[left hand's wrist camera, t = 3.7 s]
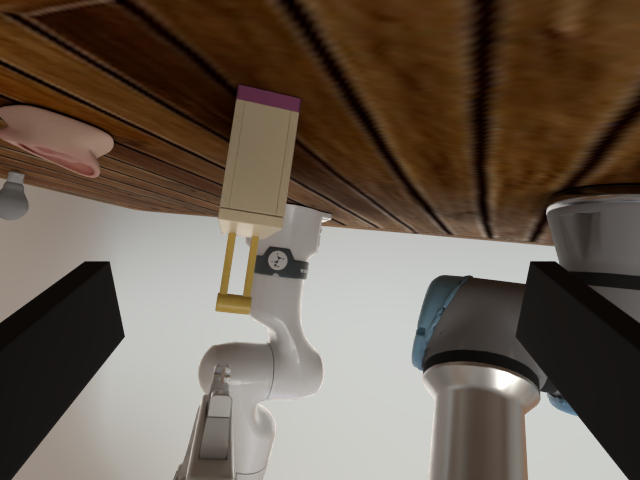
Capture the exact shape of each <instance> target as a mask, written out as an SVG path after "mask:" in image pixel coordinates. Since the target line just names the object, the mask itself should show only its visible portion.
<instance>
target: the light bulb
mask: <svg viewBox="0 0 640 480" xmlns="http://www.w3.org/2000/svg"><path fill="white" fill-rule="evenodd" d="M8 175H9V176H8V177H9V178H7V182H5V184H4V186H3V188H2V189H1V190H0V217H1V218H3V219H6V220H15V219H19V218H21V217H22V216H24V215H25V214H26V212H27V211H28V207H29V205H28V201H27V198H26V196H25V194H24V186H23V182H22V181H24V180H23V179H24V178H23V177H24V176H25V175H23V174H22V173H21V172H18V171H11V172H9V174H8Z"/></svg>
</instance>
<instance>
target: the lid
mask: <svg viewBox="0 0 640 480" xmlns="http://www.w3.org/2000/svg"><path fill="white" fill-rule="evenodd" d="M218 220H219V224H220V228H221V232H222V233H223V234H229V235H228V242H227V248H226V255H225V262H224V268H223V275H222V281H221V288H220V293H218V297H217V303H216V311H219V312H228V313H238V314H247V315H249V314H250V309H251V301H252V297H250V296H251V289H252V282H253V275H254V269H255V262H256V255H257V248H258V241H259V239H265V238H267V237H269V236H271V235H272V234H274V233H276V232H277V231H279V230H281V229H282V228H283V222H284V218H283V217H277V216H270V215H264V214H258V213H252V212H245V211H239V210H233V209H227V208H219V214H218ZM236 235H237V236H243V237H250V238H252V239H251V245H250V252H249V259H248V266H247V272H246V279H245V286H244V293H243V296H242V295H233V294H227V290H228V284H229V277H230V270H231V264H232V257H233V250H234V244H235V237H236Z"/></svg>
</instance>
